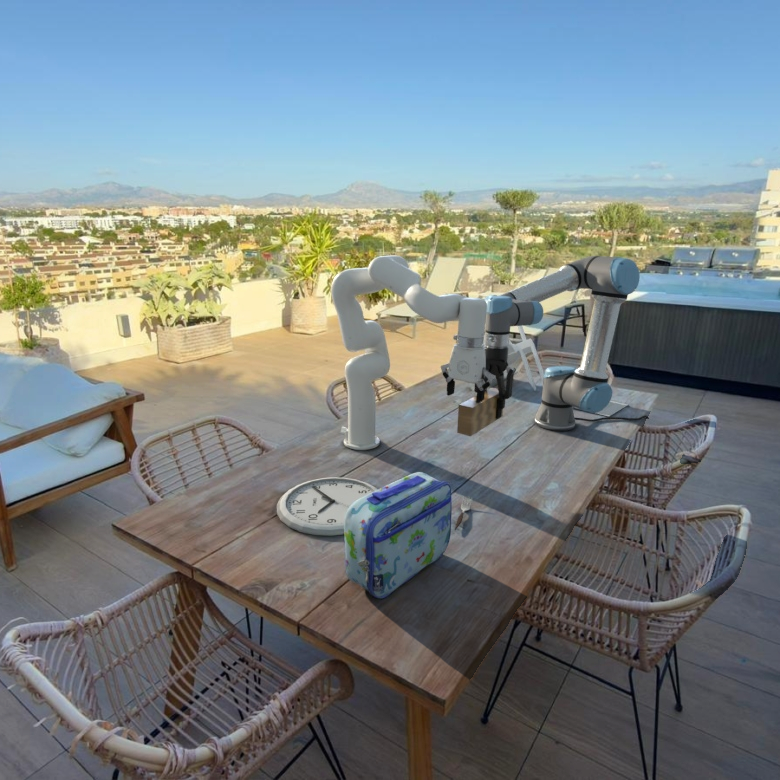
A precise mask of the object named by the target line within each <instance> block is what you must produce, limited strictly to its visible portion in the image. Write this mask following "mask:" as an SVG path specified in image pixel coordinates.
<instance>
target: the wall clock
mask: <svg viewBox="0 0 780 780" xmlns="http://www.w3.org/2000/svg"><path fill="white" fill-rule="evenodd" d="M378 489H379V488H377V487H376V486H374V485H372V484H371V483H369V482H365V481H362V480H359V479H355V478H349V477H338V476H337V477H335V476H333V477H332V476H331V477H322V478H317V479H312V480H307V481H305V482H302V483H299V484H297V485H295V486H293V487H292V488H290V489H288V490H287V491H286V492H285V493H284V494H283V495H281V496H280V498H279V499H278V502H277V503H276V515H277V517H278V518H279V520H280V521H281V522H282V523H283V524H285V525H286V526H287V527H288V528H290V529H293V530H295V531H297V532H299V533H303V534H308V535H312V536H327V537H328V536H329V537H331V536H332V537H333V536H342V535H343V536H344V520H345V516H346V513H347V511H348V509H349V507H350V506H351V505H352V504H353V503H354V502H355V501H356V500H358V499H360V498H362V497H364V496H366V495H368V494H370V493H372V492H374V491H376V490H378Z"/></svg>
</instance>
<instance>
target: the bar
mask: <svg viewBox="0 0 780 780" xmlns="http://www.w3.org/2000/svg"><path fill="white" fill-rule="evenodd" d="M476 397H477V395H475V396H473V397H471V398H468V399H467V400H465V401H463V402H461V403H459V404H458V413H457V428H456V429H457V431H456V432H457V434H461V435H464V436H468V437H472V436H473V435H475V434H477V433H478V432H480V431H481V430H483V429H484V428H486V427H488V426H489V425H491V424H493V423H495V422H496V421H497V420H498V419H496V407H497V399H499V391H498V388H497V387H490V388H487V390H486V391H485V395H484V400H483V401H482V402H480V403H476ZM503 416H504V408H503V409H502V415H501V417H500V418H502V417H503ZM500 418H499V419H500Z"/></svg>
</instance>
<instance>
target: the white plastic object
mask: <svg viewBox="0 0 780 780" xmlns="http://www.w3.org/2000/svg"><path fill="white" fill-rule="evenodd" d="M517 328H518V331H519V334H520V338H521V341H520V342H517V343H513V342H512V341H511V339H510V338H509V345H508V346H507V347H508V358H507V363H508V366H509V367H511V365H512V364H515V362H517V361H518V360H520V359H521V361H522V364H523V367H524V370H525V373H526V377H527V379H528V382H529V384H530V387H532V389H533V390H534V391H537V390H536V389H537V387H536V383H535V380H534V376H533V373H532V370H531V368H530V365H529V362H528V358H527V355H528V354H531V353H532V355H533V357H534V362H535V364H536V367H537V371H538V374H539V376H540V379H541V382H542V383H543V378H544V375H545V370H544V369H543V366H542V362H541V360H540V356H539V355H538V351H537V347H536V344H535V343H534V341H533V339H532V338H530V337H529V338H527V337H526V334H525V331H524V327H523V325H522V326H517ZM484 343H485V334H484V341H483V348H484V347H485V346H486V345H485V344H484ZM493 376H495V375H493ZM495 377H496V376H495Z"/></svg>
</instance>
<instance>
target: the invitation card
mask: <svg viewBox="0 0 780 780" xmlns="http://www.w3.org/2000/svg"><path fill="white" fill-rule="evenodd" d="M628 406H629V404H627V403H623V402H618V401H614V400H610V402H609V404H608V405H607V406H606V407H605V408H604V409H603V410H601V411H600V412H597V413H595V414H596V415H600V416H604V417H612V416H613V415H614V414H616V413H617V412H619V411H621V410H623V409H624V408H626V407H628ZM573 409H575V410H581V409H579V408H576V407H574V406H573ZM581 411H582V410H581Z"/></svg>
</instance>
